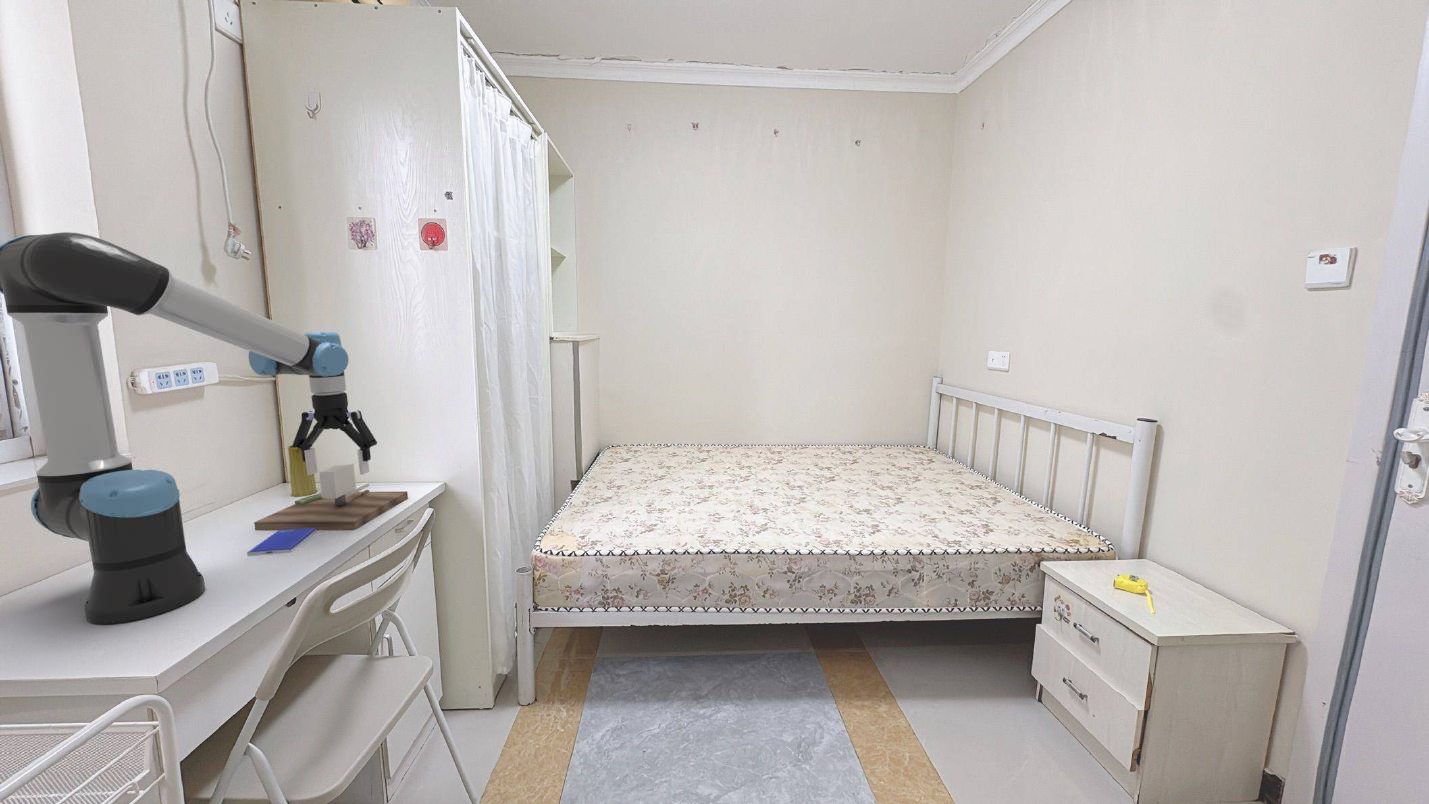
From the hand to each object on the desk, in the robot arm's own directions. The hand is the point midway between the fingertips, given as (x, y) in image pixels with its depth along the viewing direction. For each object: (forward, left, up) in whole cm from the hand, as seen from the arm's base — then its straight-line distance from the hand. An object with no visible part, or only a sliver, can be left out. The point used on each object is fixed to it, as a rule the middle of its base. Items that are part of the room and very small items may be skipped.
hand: (338, 473), depth 146 cm
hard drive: (-20, 0, -11) cm, 23 cm away
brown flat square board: (0, +1, -11) cm, 11 cm away
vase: (+17, +22, -11) cm, 30 cm away
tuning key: (+4, 0, -8) cm, 9 cm away
